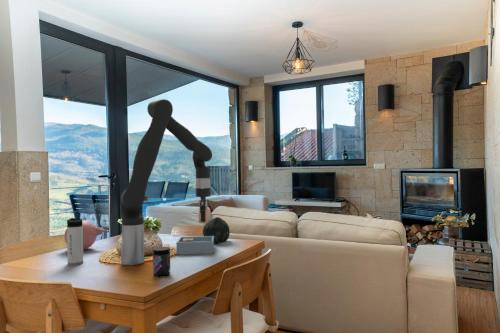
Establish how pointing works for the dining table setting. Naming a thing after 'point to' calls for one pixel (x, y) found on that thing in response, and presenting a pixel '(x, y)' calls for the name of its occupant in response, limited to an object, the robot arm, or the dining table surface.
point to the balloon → (88, 234)
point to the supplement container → (161, 261)
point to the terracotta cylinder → (205, 216)
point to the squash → (217, 230)
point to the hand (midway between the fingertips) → (203, 220)
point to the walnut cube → (188, 240)
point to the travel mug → (74, 241)
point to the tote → (196, 245)
